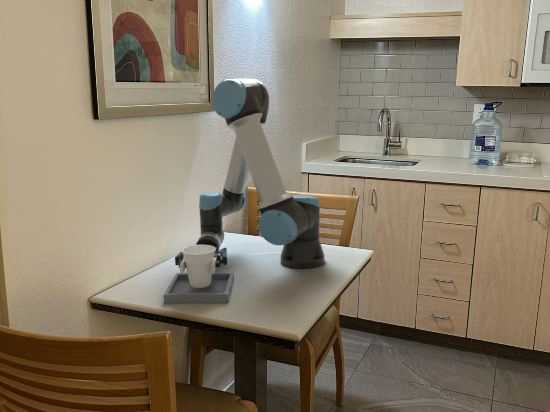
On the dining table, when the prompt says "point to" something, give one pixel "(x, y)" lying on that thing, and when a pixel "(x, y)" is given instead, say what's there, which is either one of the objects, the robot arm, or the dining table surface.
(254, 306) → the dining table surface
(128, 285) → the dining table surface
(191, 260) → the cup
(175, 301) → the tray
